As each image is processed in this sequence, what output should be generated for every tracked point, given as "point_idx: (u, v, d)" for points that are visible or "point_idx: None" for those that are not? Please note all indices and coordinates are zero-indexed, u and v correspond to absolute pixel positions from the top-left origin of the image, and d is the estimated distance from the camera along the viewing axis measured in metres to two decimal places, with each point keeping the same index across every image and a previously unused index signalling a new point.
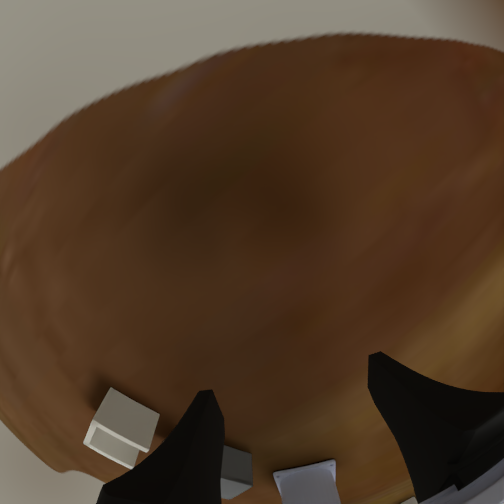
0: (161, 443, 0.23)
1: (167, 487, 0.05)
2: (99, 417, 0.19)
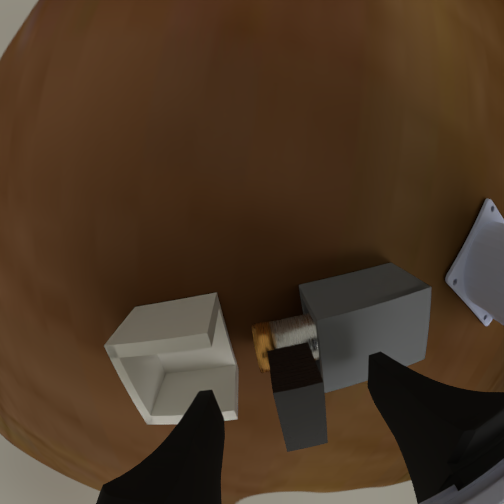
0: None
1: (167, 487, 0.05)
2: (115, 338, 0.13)
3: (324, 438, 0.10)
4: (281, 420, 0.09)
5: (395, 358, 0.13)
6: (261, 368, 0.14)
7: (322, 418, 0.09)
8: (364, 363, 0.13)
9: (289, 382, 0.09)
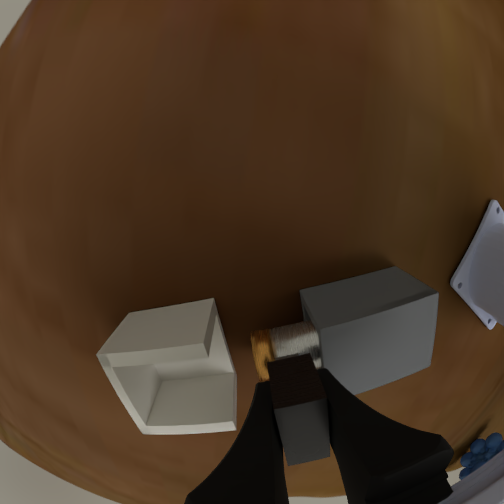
0: None
1: (267, 484, 0.05)
2: (107, 347, 0.12)
3: (327, 452, 0.09)
4: (282, 436, 0.08)
5: (400, 366, 0.12)
6: (260, 378, 0.13)
7: (325, 433, 0.09)
8: (368, 372, 0.12)
9: (290, 397, 0.08)
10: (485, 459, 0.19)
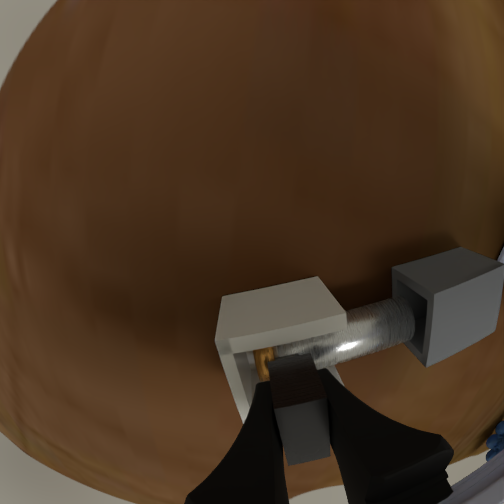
0: None
1: (267, 484, 0.05)
2: (226, 331, 0.12)
3: (327, 452, 0.09)
4: (282, 436, 0.08)
5: (478, 330, 0.12)
6: (261, 378, 0.13)
7: (325, 433, 0.09)
8: (458, 335, 0.12)
9: (290, 397, 0.08)
10: None
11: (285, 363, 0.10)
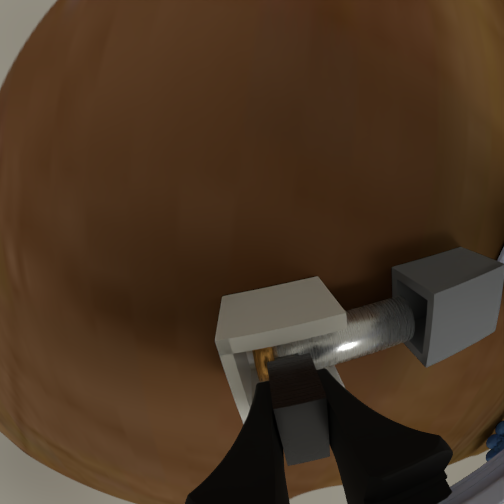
0: None
1: (268, 483, 0.05)
2: (226, 331, 0.12)
3: (327, 452, 0.09)
4: (281, 436, 0.08)
5: (478, 330, 0.12)
6: (260, 378, 0.13)
7: (325, 433, 0.09)
8: (458, 335, 0.12)
9: (290, 397, 0.08)
10: None
11: (284, 363, 0.10)
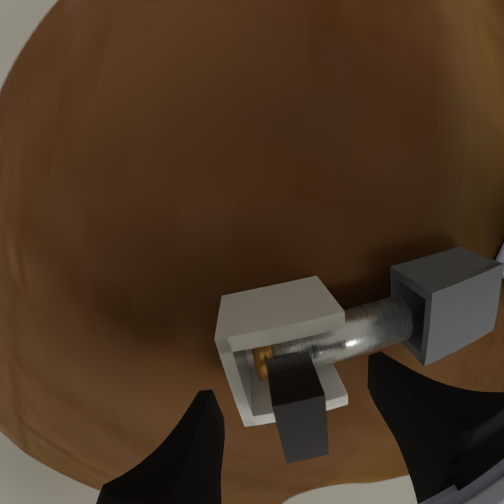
0: None
1: (167, 487, 0.05)
2: (225, 330, 0.12)
3: (325, 450, 0.09)
4: (280, 433, 0.09)
5: (476, 329, 0.12)
6: (259, 376, 0.13)
7: (323, 430, 0.09)
8: (456, 334, 0.12)
9: (288, 394, 0.09)
10: None
11: (283, 361, 0.11)
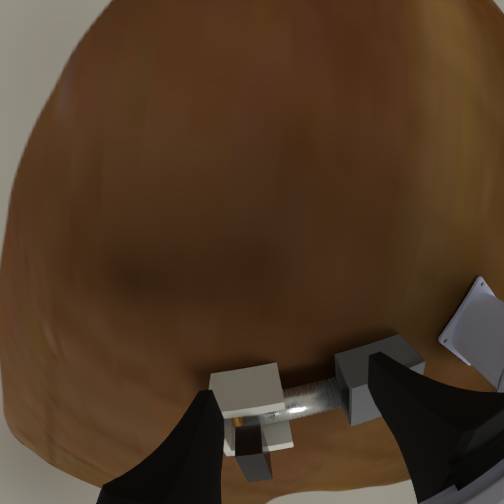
0: None
1: (167, 487, 0.05)
2: None
3: (270, 477, 0.15)
4: (241, 467, 0.14)
5: None
6: (235, 427, 0.19)
7: (266, 467, 0.15)
8: (377, 408, 0.18)
9: (244, 450, 0.14)
10: None
11: (245, 429, 0.16)
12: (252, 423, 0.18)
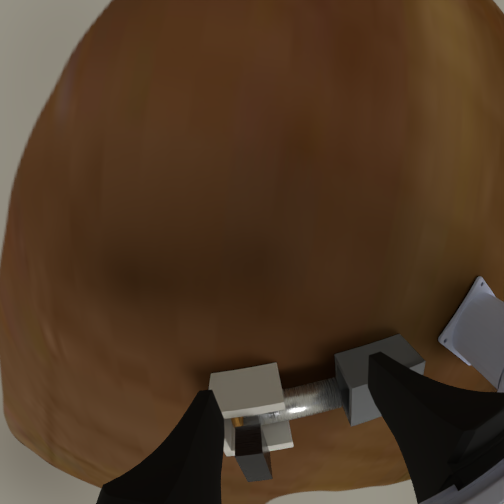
0: None
1: (167, 487, 0.05)
2: None
3: (270, 477, 0.15)
4: (241, 467, 0.14)
5: None
6: (235, 427, 0.19)
7: (266, 467, 0.15)
8: (377, 408, 0.18)
9: (244, 450, 0.14)
10: None
11: (245, 429, 0.16)
12: (252, 423, 0.18)
